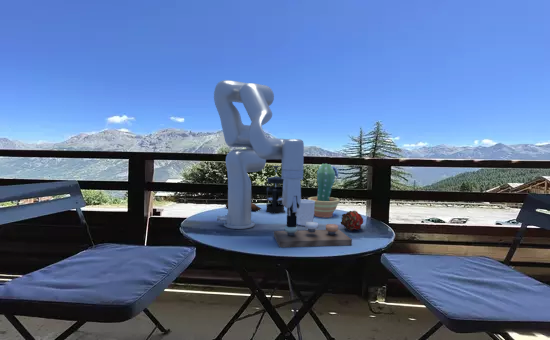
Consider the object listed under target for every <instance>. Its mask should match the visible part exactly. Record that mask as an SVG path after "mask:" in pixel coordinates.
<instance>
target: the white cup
mask: <svg viewBox="0 0 550 340" xmlns="http://www.w3.org/2000/svg"><path fill="white" fill-rule="evenodd" d="M314 207H315V201H313V200H308V199H301V205H300V208H297V225H298V226H301V227H305V226H306V222H314V217H315V215H314Z"/></svg>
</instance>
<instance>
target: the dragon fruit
mask: <svg viewBox="0 0 550 340" xmlns="http://www.w3.org/2000/svg"><path fill="white" fill-rule="evenodd" d="M341 216H342V217H341V221H340V225H342V226H343V227H344V228H346V230H348V231H350V232H353V231H354V230H356V231H358V230H359V231H360V230H361V228H362V225H363V223H364V218H363V217H362V215H361V214H360V213H359V212H358V211H357V210H349V211H347V212H346V213H343V214H342V215H341Z"/></svg>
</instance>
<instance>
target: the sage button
mask: <svg viewBox="0 0 550 340" xmlns="http://www.w3.org/2000/svg"><path fill="white" fill-rule="evenodd" d="M297 230H298V226H296V227H287V224H286V225H285V226H284V231H285V232H287V235H288V236H294V235H295V232H297Z"/></svg>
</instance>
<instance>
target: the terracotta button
mask: <svg viewBox="0 0 550 340" xmlns="http://www.w3.org/2000/svg"><path fill="white" fill-rule="evenodd" d="M338 229H339V225H338V224H335V223H328V224H325V230H327V231H328V234H330V235H335V232H336V231H338Z"/></svg>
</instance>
